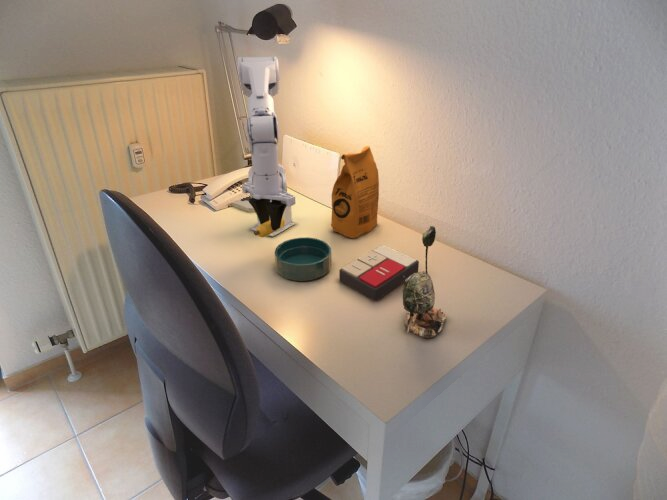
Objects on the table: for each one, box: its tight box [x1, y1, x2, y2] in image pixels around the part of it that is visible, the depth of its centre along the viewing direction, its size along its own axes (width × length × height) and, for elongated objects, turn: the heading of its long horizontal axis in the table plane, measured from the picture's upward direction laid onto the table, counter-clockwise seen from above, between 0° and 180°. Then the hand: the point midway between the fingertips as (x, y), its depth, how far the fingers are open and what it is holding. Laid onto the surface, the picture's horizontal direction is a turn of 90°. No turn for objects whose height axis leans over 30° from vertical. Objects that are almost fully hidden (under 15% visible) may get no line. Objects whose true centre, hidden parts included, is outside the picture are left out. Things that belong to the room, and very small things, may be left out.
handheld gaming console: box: [230, 196, 256, 213], centre depth 136 cm, size 10×2×15 cm
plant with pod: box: [402, 225, 447, 339], centre depth 79 cm, size 8×11×20 cm
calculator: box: [338, 244, 420, 302], centre depth 97 cm, size 11×4×15 cm
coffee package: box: [330, 145, 380, 239], centre depth 115 cm, size 10×12×22 cm
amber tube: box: [253, 218, 285, 239], centre depth 102 cm, size 10×3×3 cm, turn 145°
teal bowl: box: [274, 236, 332, 282], centre depth 101 cm, size 13×13×4 cm
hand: (270, 226), depth 102 cm, fingers closed on amber tube, 3 cm apart
